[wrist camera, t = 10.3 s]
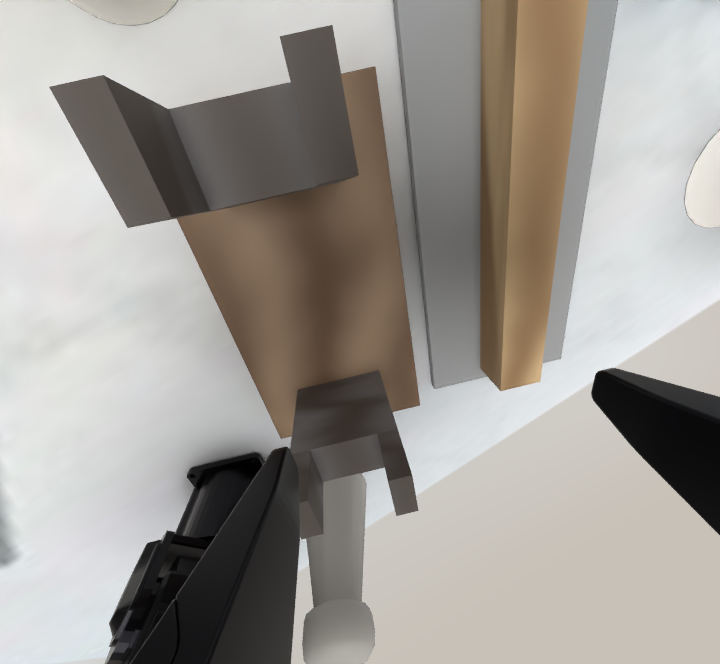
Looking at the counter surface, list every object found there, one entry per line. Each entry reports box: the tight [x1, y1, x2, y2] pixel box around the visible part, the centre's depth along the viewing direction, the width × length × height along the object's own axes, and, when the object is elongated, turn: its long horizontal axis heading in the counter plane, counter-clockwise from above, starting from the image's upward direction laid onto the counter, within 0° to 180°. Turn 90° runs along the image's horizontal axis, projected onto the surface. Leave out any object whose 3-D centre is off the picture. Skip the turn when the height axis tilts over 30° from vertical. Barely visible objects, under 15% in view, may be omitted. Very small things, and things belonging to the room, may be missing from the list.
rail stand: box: [50, 25, 420, 539], centre depth 15 cm, size 12×22×10 cm, turn 12°
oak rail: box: [480, 0, 588, 391], centre depth 17 cm, size 3×22×3 cm, turn 11°
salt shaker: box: [302, 473, 375, 664], centre depth 22 cm, size 6×6×13 cm
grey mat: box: [393, 0, 618, 389], centre depth 19 cm, size 11×24×1 cm, turn 12°
